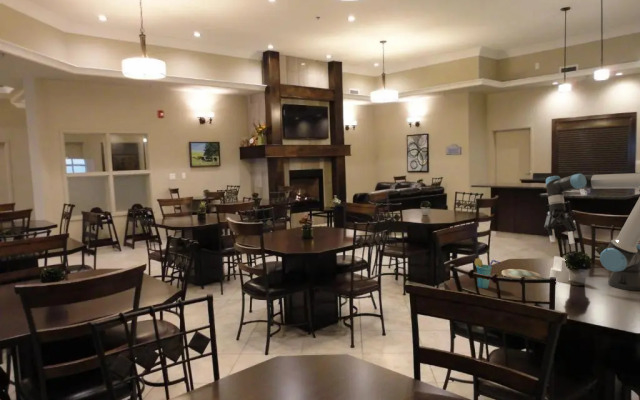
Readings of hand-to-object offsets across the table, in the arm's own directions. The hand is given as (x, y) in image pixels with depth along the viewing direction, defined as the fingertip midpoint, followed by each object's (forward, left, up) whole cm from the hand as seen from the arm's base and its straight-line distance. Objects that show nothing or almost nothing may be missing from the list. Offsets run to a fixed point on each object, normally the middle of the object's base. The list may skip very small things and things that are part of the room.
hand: (562, 242), depth 233 cm
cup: (+45, +13, -21) cm, 51 cm away
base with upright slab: (-1, -2, -21) cm, 21 cm away
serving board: (+17, -8, -21) cm, 28 cm away
